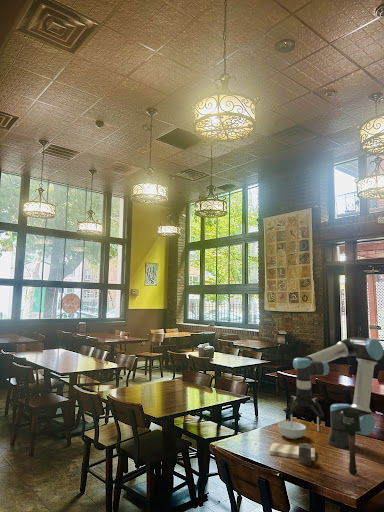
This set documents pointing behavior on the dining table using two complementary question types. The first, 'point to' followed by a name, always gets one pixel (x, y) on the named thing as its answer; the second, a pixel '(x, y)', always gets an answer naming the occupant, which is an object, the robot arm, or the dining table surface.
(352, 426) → the stick grenade
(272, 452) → the maple board
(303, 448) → the marking gauge
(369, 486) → the dining table surface
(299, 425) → the cereal bowl
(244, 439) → the dining table surface
